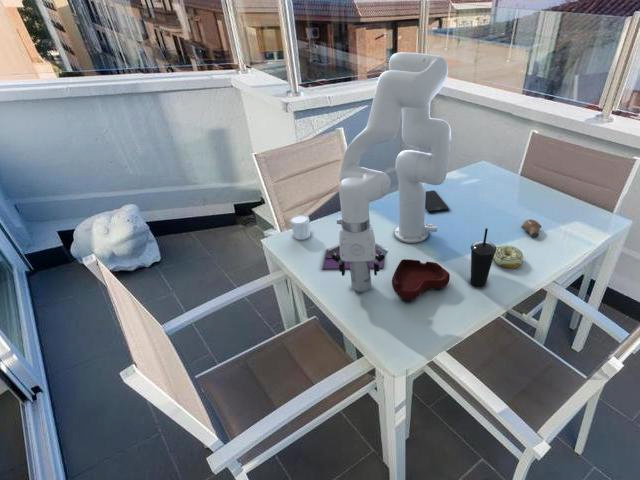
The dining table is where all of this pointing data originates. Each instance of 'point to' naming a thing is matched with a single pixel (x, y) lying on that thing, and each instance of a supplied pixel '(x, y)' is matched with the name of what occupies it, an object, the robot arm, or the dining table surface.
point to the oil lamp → (531, 227)
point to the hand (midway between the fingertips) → (359, 272)
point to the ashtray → (418, 278)
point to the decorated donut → (508, 256)
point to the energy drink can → (360, 275)
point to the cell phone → (434, 202)
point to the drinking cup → (481, 261)
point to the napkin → (332, 264)
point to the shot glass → (300, 226)
